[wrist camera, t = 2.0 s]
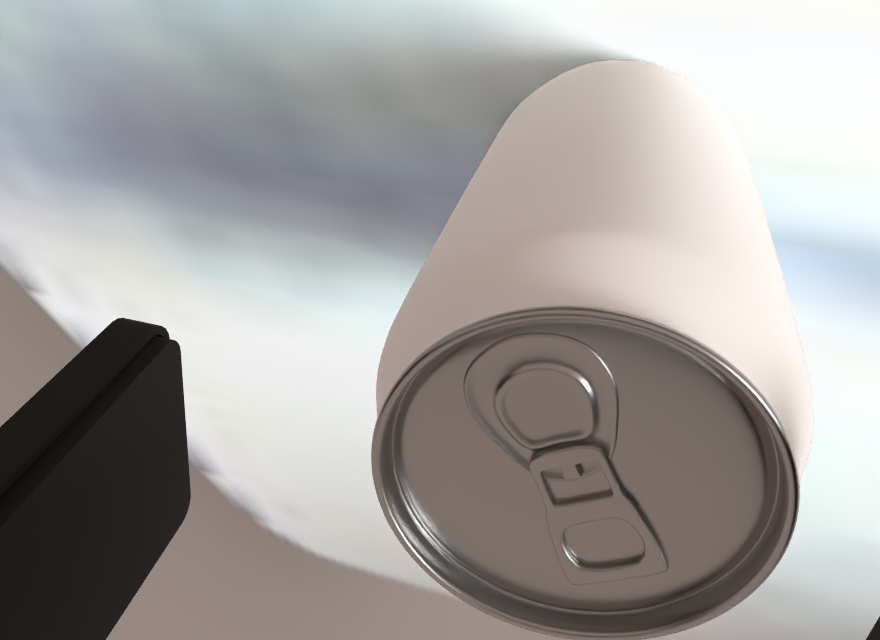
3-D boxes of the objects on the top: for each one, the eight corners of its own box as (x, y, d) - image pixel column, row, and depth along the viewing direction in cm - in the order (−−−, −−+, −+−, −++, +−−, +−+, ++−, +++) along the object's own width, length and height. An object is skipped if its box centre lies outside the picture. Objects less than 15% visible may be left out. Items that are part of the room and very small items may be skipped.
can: (704, 10, 19) (760, 201, 9) (777, 257, 21) (889, 637, 11) (450, 112, 21) (258, 356, 11) (541, 323, 24) (452, 682, 13)
